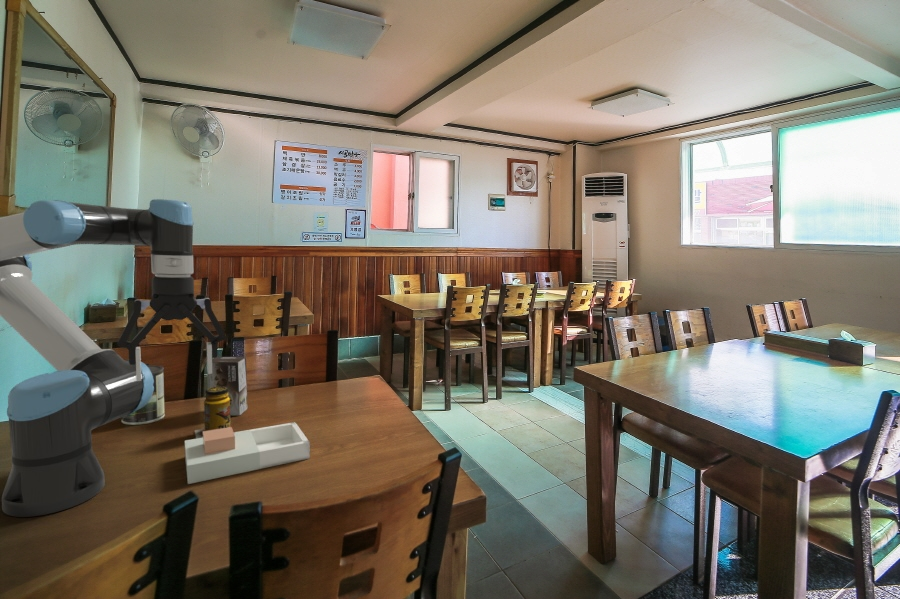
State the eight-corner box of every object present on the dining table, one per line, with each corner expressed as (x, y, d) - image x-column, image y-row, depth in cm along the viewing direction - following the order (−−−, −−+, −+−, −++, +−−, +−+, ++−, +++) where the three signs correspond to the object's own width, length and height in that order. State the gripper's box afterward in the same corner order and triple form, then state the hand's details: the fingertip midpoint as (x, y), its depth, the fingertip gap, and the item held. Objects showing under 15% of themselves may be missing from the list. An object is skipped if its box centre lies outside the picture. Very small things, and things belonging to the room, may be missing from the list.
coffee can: (140, 427, 122) (138, 376, 121) (112, 422, 125) (109, 371, 124) (174, 414, 132) (172, 367, 131) (147, 409, 135) (145, 363, 134)
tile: (204, 454, 100) (204, 441, 99) (203, 444, 105) (202, 431, 104) (235, 448, 103) (234, 436, 102) (231, 439, 108) (231, 426, 108)
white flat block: (187, 484, 95) (187, 465, 94) (185, 457, 107) (184, 440, 106) (259, 468, 102) (259, 451, 102) (250, 445, 114) (249, 429, 114)
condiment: (233, 435, 120) (233, 390, 118) (197, 441, 115) (195, 395, 114) (229, 425, 126) (228, 383, 124) (194, 431, 121) (193, 387, 120)
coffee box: (248, 408, 139) (247, 356, 137) (239, 416, 133) (238, 361, 131) (217, 408, 139) (216, 355, 137) (207, 415, 132) (206, 361, 130)
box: (259, 468, 102) (259, 451, 102) (250, 445, 114) (249, 429, 114) (309, 458, 108) (309, 442, 108) (295, 436, 120) (295, 422, 119)
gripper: (97, 276, 86) (102, 387, 88) (239, 277, 99) (240, 373, 101) (101, 273, 92) (105, 377, 94) (234, 274, 105) (235, 365, 108)
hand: (175, 375), depth 98 cm, fingers open, 12 cm apart
